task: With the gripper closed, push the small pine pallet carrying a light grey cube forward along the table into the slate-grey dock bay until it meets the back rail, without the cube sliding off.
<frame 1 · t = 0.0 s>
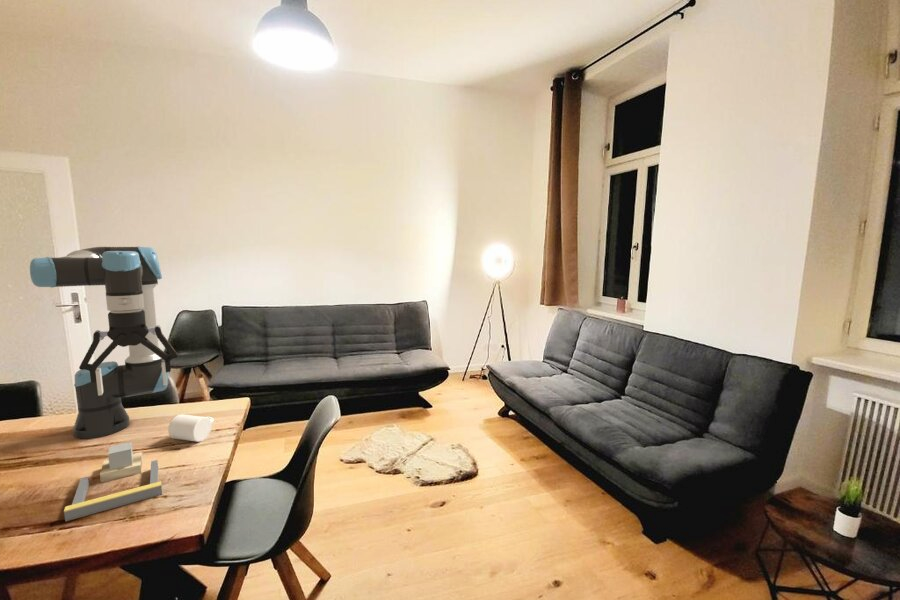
hand: (134, 388, 107), 28 cm above the table, fingers open, 13 cm apart
pallet: (123, 472, 118), on the table, touching light grey cube
light grey cube: (121, 463, 117), point 2 cm above the table, touching pallet
dock: (119, 489, 109), on the table
mug: (196, 436, 140), on the table
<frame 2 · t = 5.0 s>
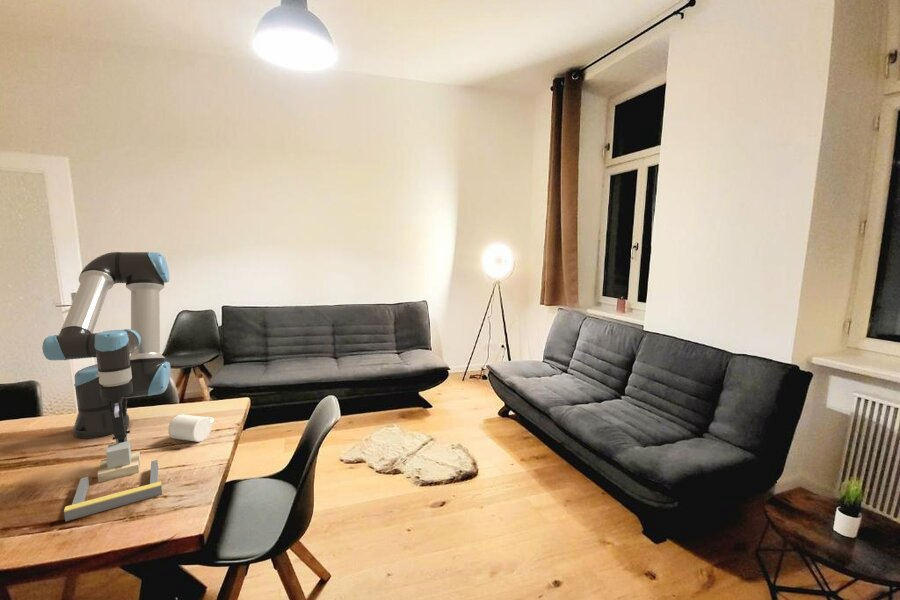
hand: (123, 456, 123), 2 cm above the table, fingers closed
pallet: (120, 471, 118), on the table, touching gripper
light grey cube: (120, 462, 118), point 2 cm above the table
everything else where it was.
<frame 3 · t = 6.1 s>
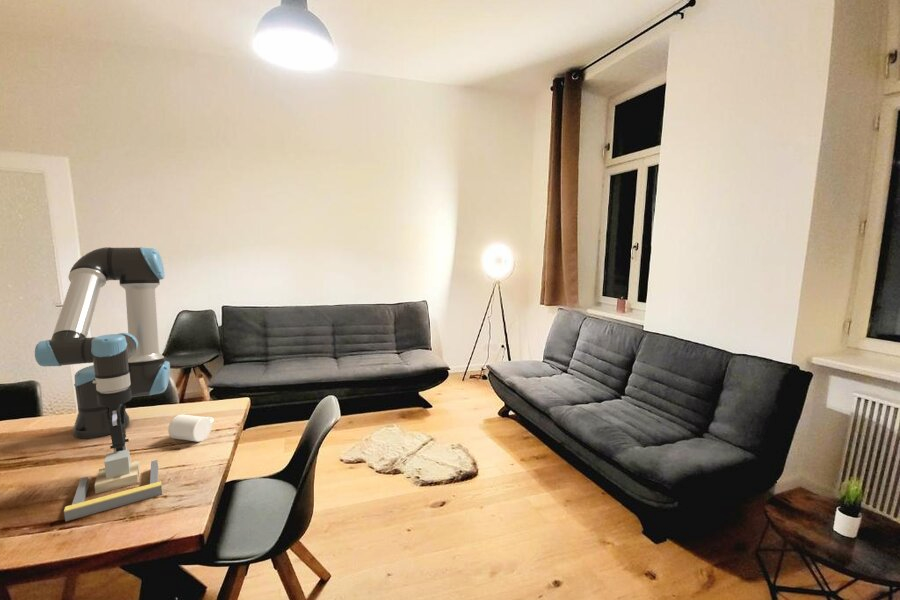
hand: (122, 465, 118), 2 cm above the table, fingers closed
pallet: (119, 481, 113), on the table
light grey cube: (118, 471, 113), point 3 cm above the table
everything else where it was.
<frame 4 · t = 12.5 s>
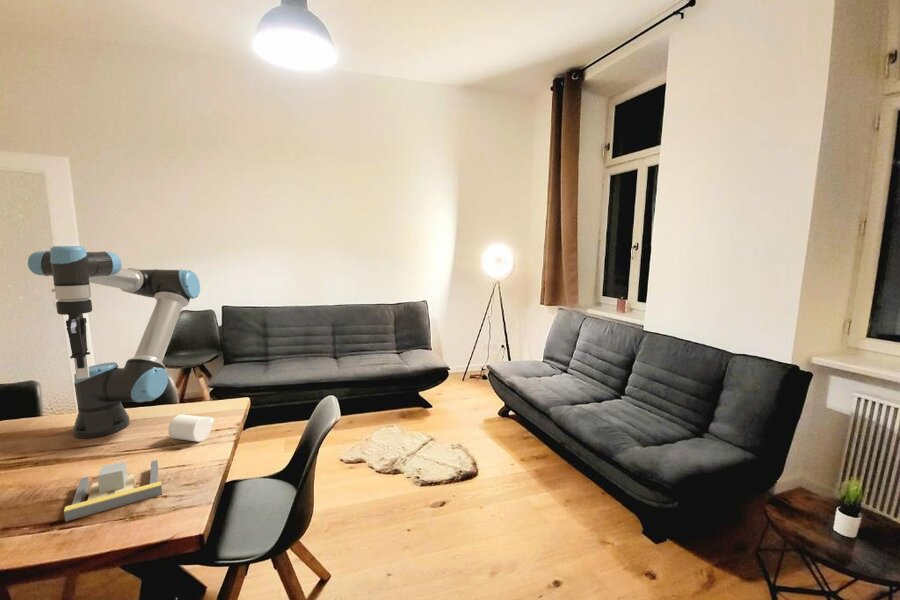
hand: (83, 377, 119), 26 cm above the table, fingers closed
pallet: (113, 496, 107), on the table, touching light grey cube
light grey cube: (113, 485, 107), point 2 cm above the table, touching pallet
everything else where it was.
at the end: pallet inside the target area on the dock (1.9 cm from its centre), point -0.6 cm above the dock's base; pallet moved 13.1 cm from its start; light grey cube inside the target area on the pallet (0.3 cm from its centre), point 3.0 cm above the pallet's base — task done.
